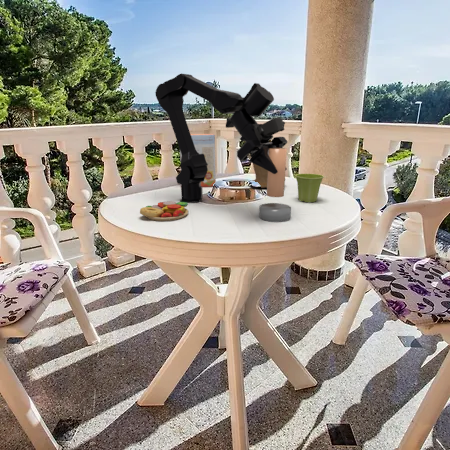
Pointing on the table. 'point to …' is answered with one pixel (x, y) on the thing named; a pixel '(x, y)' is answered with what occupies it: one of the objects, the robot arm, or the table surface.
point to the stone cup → (261, 175)
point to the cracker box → (206, 155)
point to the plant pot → (308, 186)
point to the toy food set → (165, 211)
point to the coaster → (274, 212)
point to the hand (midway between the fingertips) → (280, 171)
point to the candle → (277, 180)
